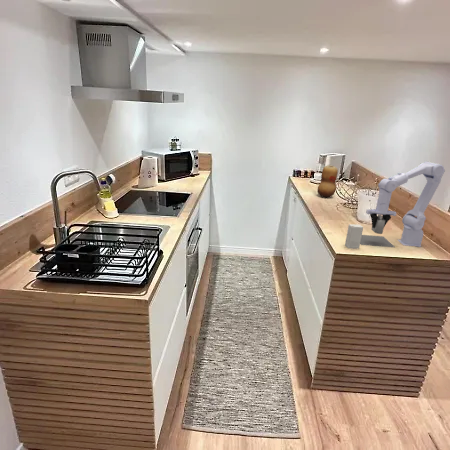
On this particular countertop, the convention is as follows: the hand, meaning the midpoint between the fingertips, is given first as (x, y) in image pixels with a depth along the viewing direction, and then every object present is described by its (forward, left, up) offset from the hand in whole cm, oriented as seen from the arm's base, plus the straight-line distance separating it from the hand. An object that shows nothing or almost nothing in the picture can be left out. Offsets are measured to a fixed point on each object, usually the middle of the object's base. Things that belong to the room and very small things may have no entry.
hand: (377, 227), depth 181 cm
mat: (-1, -5, -9) cm, 11 cm away
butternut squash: (+2, -99, -10) cm, 99 cm away
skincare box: (+14, +7, -10) cm, 18 cm away
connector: (0, 0, -2) cm, 2 cm away
